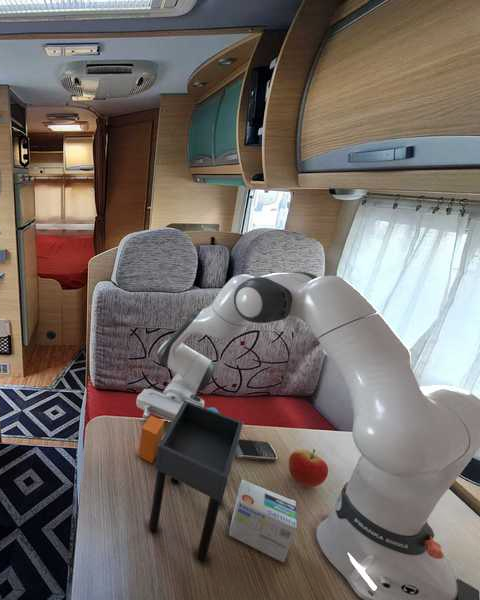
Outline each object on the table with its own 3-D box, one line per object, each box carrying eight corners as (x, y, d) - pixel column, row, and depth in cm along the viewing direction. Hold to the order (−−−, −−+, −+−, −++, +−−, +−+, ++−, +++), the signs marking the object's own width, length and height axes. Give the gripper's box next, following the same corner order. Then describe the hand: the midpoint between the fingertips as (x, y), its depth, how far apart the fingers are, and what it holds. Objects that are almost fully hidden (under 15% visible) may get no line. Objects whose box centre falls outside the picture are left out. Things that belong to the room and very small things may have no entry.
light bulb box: (284, 535, 71) (297, 500, 67) (284, 565, 66) (298, 529, 62) (231, 510, 76) (241, 476, 72) (227, 536, 71) (237, 501, 67)
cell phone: (278, 462, 89) (279, 458, 89) (236, 459, 90) (237, 455, 89) (268, 445, 95) (269, 441, 94) (229, 441, 96) (229, 438, 95)
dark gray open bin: (238, 444, 72) (243, 422, 69) (221, 502, 59) (227, 478, 57) (181, 420, 78) (184, 400, 76) (155, 468, 65) (158, 445, 63)
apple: (279, 479, 84) (289, 449, 81) (290, 462, 89) (300, 434, 86) (315, 501, 79) (328, 471, 75) (325, 482, 84) (337, 453, 80)
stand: (222, 501, 78) (236, 444, 72) (204, 564, 66) (220, 501, 59) (172, 476, 84) (181, 421, 78) (147, 529, 72) (156, 468, 65)
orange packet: (160, 448, 93) (164, 421, 89) (152, 463, 88) (156, 434, 84) (147, 442, 95) (150, 415, 91) (138, 456, 90) (141, 428, 87)
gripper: (146, 379, 109) (128, 401, 99) (209, 402, 99) (197, 430, 88) (145, 395, 112) (127, 418, 101) (206, 419, 101) (193, 448, 90)
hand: (160, 424), depth 94 cm, fingers open, 8 cm apart
